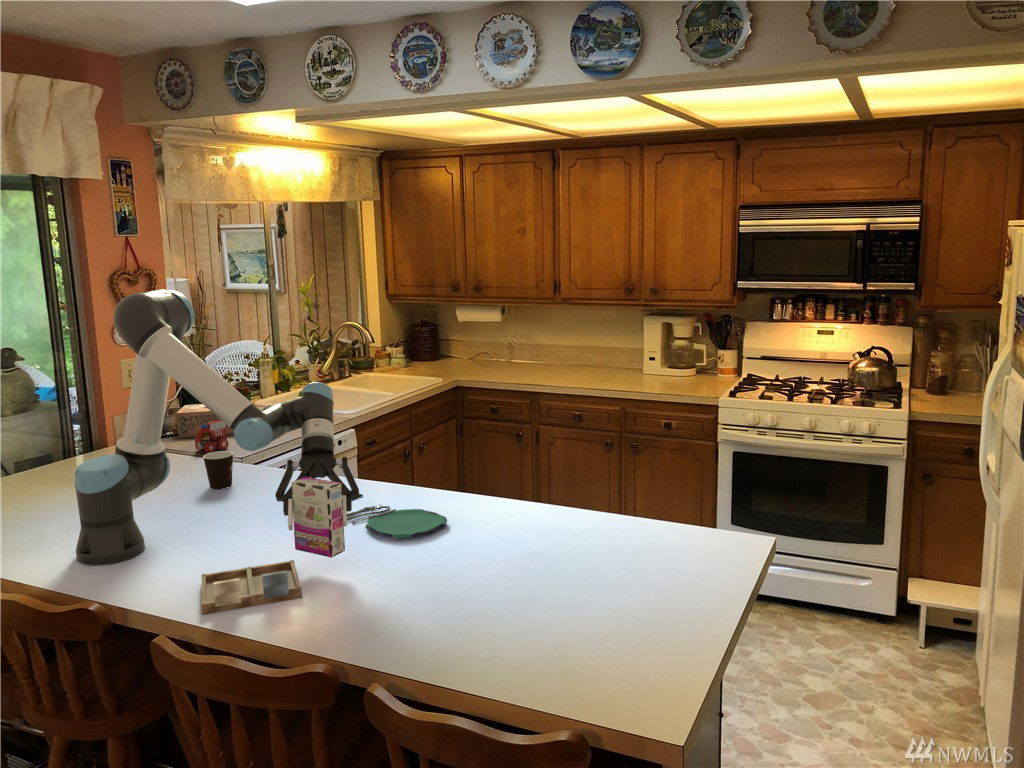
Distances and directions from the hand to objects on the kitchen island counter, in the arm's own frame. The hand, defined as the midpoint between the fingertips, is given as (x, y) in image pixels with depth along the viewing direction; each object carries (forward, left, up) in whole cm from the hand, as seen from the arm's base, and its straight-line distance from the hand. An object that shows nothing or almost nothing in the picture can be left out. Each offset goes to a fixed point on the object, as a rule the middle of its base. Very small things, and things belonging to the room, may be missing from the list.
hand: (317, 526), depth 180 cm
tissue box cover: (-20, +157, -12) cm, 158 cm away
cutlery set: (+23, +26, -12) cm, 36 cm away
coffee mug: (-19, +81, -12) cm, 84 cm away
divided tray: (-15, -2, -12) cm, 19 cm away
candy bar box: (0, +3, -7) cm, 8 cm away
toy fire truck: (-22, +127, -12) cm, 129 cm away
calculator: (+12, +54, -12) cm, 56 cm away
